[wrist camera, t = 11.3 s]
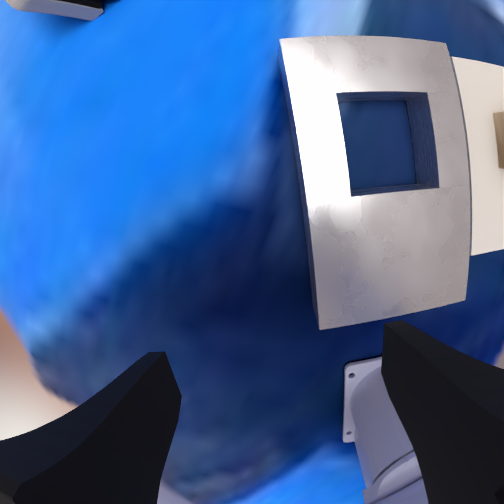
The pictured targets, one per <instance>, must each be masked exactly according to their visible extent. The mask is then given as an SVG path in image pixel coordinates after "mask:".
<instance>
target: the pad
mask: <svg viewBox="0 0 504 504" xmlns="http://www.w3.org/2000/svg"><path fill="white" fill-rule="evenodd" d="M450 60H451V64H452V68H453V72H454V76H455V80H456V85H457V90H458V95H459V100H460V105H461V111H462V117H463V124H464V131H465V138H466V147H467V157H468V168H469V184H470V251H469V255H476V254H481V253H486V252H491V251H496V250H501V249H504V169H502V168H499V166H498V153H497V143H496V134H495V126H494V119H493V113H496V112H504V67H502V66H498V65H493V64H489V63H484V62H480V61H475V60H469V59H464V58H458V57H450Z"/></svg>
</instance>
